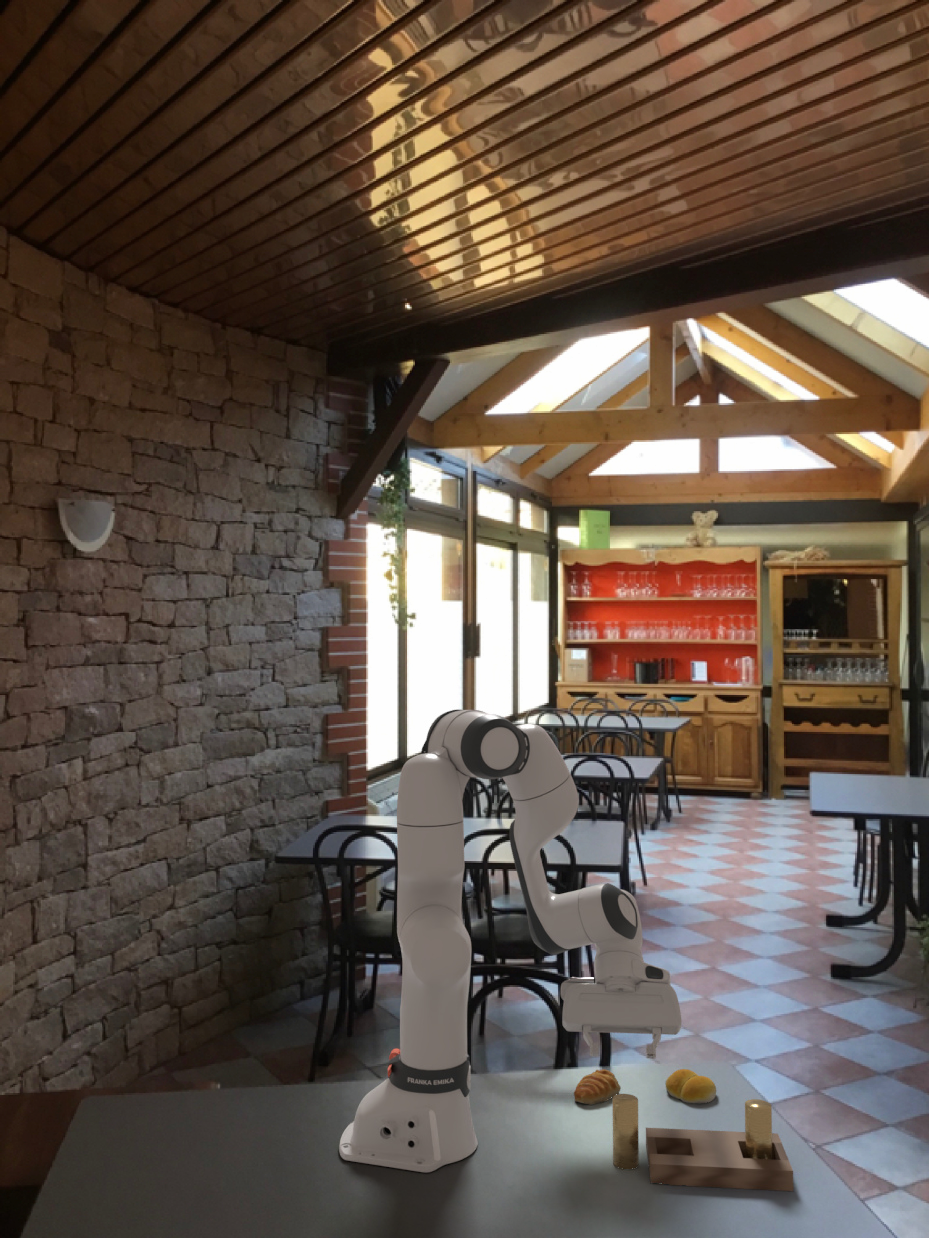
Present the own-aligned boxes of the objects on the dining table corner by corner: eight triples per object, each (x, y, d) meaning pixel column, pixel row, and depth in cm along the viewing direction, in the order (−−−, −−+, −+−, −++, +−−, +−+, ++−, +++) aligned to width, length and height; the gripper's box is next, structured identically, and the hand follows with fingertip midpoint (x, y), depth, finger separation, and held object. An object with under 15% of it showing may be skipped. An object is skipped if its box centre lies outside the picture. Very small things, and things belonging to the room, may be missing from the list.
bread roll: (699, 1109, 183) (698, 1087, 183) (658, 1093, 190) (658, 1071, 190) (726, 1096, 188) (726, 1074, 188) (686, 1081, 195) (686, 1059, 195)
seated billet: (747, 1175, 159) (747, 1109, 160) (743, 1162, 163) (743, 1098, 164) (774, 1177, 159) (773, 1110, 159) (769, 1164, 163) (768, 1099, 163)
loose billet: (613, 1168, 162) (612, 1103, 162) (612, 1156, 166) (612, 1093, 166) (639, 1170, 161) (638, 1105, 162) (637, 1157, 165) (637, 1094, 166)
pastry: (596, 1111, 182) (596, 1089, 182) (564, 1101, 186) (563, 1080, 187) (623, 1093, 190) (622, 1072, 190) (591, 1084, 194) (591, 1063, 194)
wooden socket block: (650, 1183, 157) (650, 1163, 157) (645, 1146, 169) (645, 1127, 169) (793, 1191, 155) (793, 1170, 155) (778, 1152, 167) (777, 1133, 167)
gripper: (560, 968, 182) (559, 1045, 172) (678, 971, 180) (685, 1049, 170) (561, 985, 186) (560, 1062, 176) (676, 988, 184) (682, 1066, 174)
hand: (622, 1056), depth 173 cm, fingers open, 8 cm apart
